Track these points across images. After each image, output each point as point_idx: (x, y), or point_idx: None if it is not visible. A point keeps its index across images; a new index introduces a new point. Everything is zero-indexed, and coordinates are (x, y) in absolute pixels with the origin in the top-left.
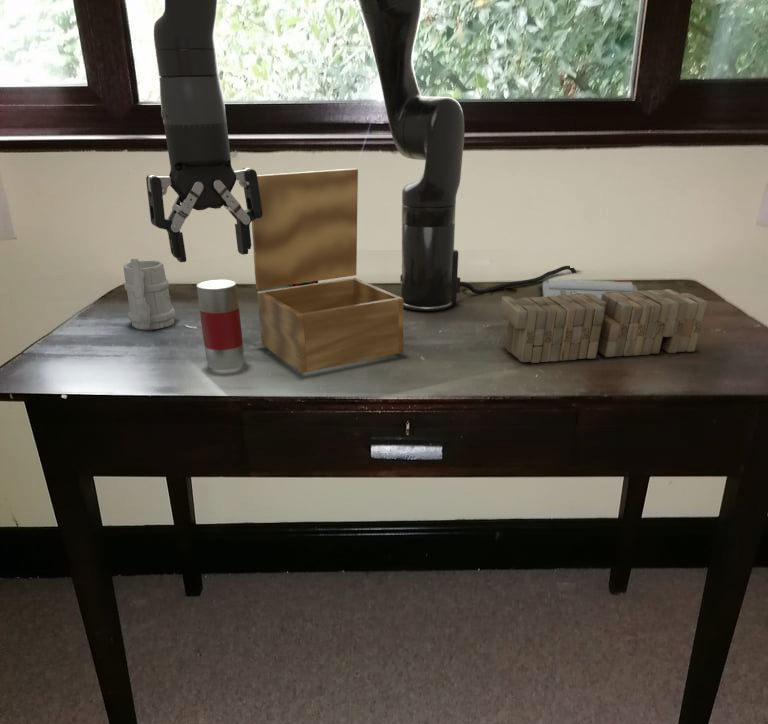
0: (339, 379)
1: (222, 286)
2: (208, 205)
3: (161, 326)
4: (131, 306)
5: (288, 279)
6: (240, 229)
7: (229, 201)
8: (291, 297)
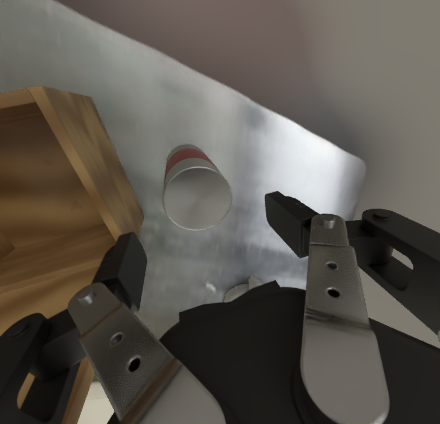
0: (28, 69)
1: (189, 181)
2: (234, 307)
3: (236, 286)
4: None
5: (73, 277)
6: (121, 271)
7: (130, 339)
8: (81, 256)
